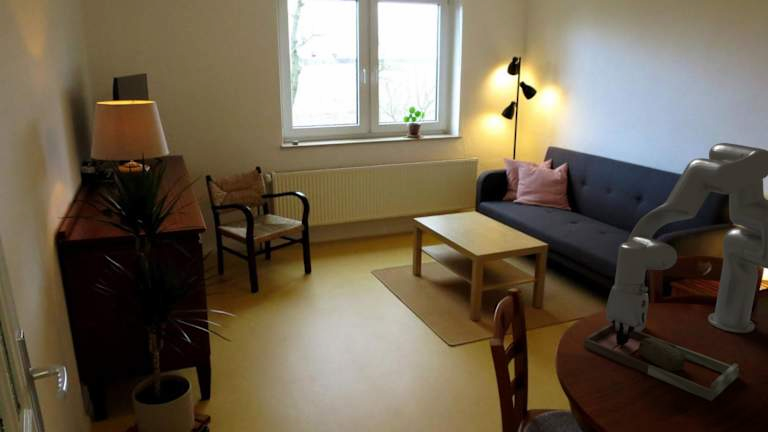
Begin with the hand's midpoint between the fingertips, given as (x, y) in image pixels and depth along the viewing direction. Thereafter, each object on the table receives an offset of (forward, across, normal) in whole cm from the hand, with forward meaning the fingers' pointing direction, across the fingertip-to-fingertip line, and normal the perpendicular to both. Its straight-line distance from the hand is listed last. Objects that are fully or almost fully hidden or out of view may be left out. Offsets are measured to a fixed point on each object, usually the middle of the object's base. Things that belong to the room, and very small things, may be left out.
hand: (621, 343), depth 164 cm
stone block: (+2, -11, 0) cm, 11 cm away
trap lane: (+1, -10, 0) cm, 10 cm away
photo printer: (+1, +6, -15) cm, 16 cm away
